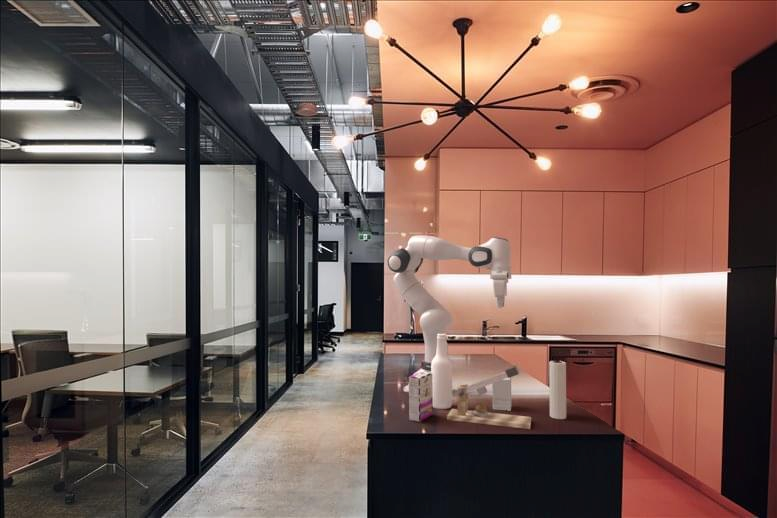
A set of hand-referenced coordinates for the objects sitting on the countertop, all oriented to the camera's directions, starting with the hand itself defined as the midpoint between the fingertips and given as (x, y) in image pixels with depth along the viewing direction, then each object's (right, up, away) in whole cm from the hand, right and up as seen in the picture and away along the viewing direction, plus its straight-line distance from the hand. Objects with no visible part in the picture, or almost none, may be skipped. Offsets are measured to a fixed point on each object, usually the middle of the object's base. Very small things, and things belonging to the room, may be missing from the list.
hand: (501, 307), depth 193 cm
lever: (-9, -29, -23) cm, 38 cm away
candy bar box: (-36, -40, -20) cm, 58 cm away
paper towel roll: (+18, -41, -18) cm, 48 cm away
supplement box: (-1, -41, -6) cm, 42 cm away
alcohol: (-26, -41, -4) cm, 49 cm away
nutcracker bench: (-10, -40, -23) cm, 47 cm away
